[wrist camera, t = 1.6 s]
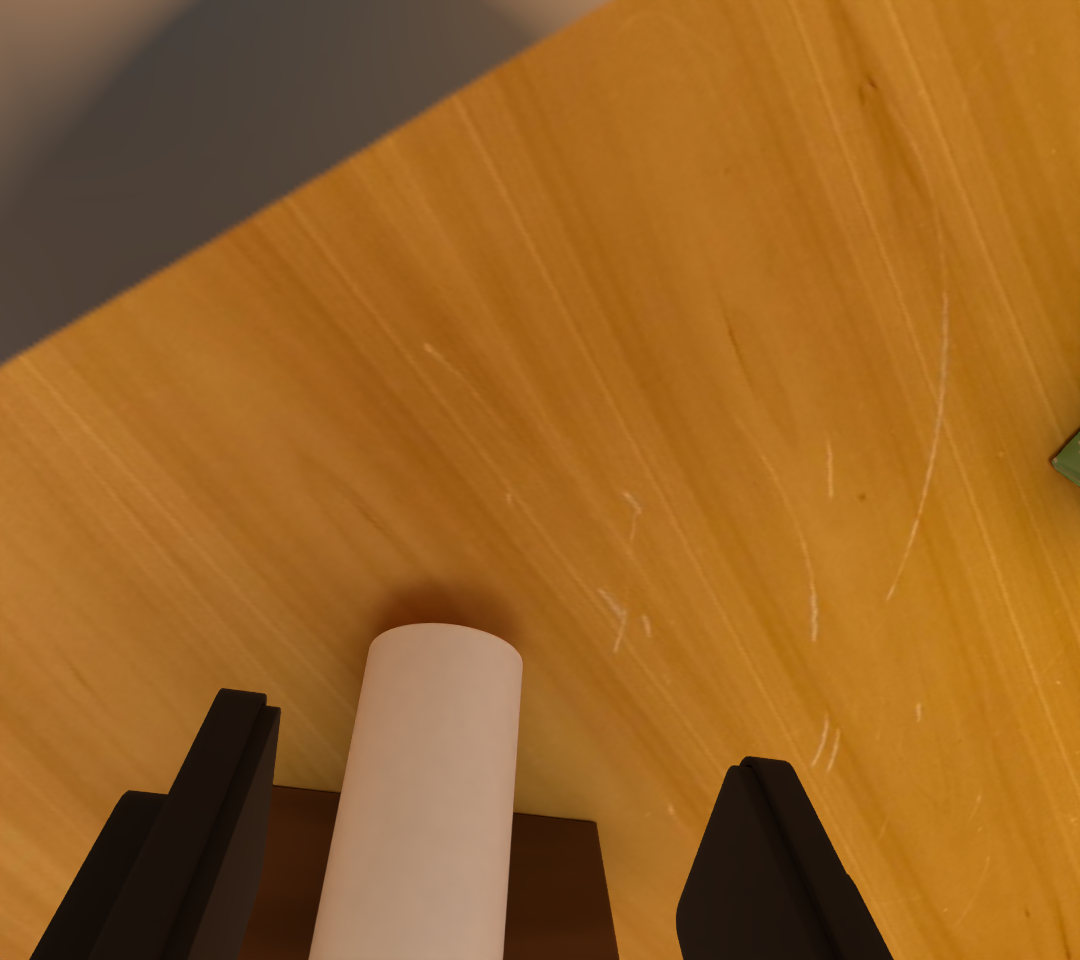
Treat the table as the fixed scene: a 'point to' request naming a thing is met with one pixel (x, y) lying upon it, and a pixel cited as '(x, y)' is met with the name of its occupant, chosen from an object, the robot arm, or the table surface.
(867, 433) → the table surface
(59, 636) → the table surface
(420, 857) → the paper roll
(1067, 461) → the ink box
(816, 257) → the table surface
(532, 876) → the wooden block
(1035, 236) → the table surface
